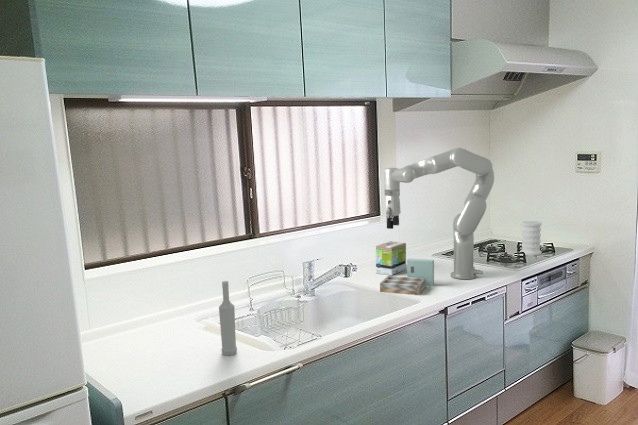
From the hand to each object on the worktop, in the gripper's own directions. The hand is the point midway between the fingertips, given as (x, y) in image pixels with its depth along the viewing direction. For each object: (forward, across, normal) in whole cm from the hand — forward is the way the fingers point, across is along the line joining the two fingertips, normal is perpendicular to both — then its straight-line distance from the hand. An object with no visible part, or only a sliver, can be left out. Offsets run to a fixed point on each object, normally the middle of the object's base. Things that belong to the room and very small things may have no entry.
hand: (393, 226), depth 276 cm
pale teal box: (+26, -11, -16) cm, 32 cm away
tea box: (+26, +8, +4) cm, 27 cm away
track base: (+25, -21, -11) cm, 35 cm away
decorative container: (+26, +72, -60) cm, 97 cm away
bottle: (+25, -114, +23) cm, 118 cm away
